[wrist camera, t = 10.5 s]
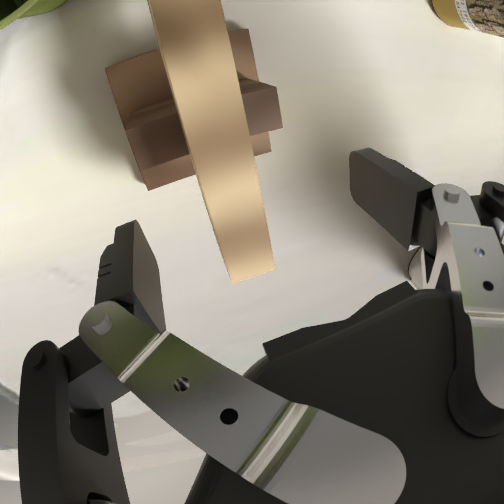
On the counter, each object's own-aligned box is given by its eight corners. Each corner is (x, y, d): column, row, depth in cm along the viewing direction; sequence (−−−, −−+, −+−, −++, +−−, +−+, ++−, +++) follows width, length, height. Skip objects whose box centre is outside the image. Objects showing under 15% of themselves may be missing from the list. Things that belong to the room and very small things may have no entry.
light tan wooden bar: (145, -10, 12) (143, -26, 9) (198, -23, 12) (210, -40, 9) (220, 251, 25) (232, 284, 22) (257, 238, 25) (275, 269, 22)
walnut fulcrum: (267, 147, 29) (302, 179, 23) (148, 185, 28) (149, 230, 22) (244, 29, 21) (279, 22, 15) (107, 67, 20) (89, 73, 14)
